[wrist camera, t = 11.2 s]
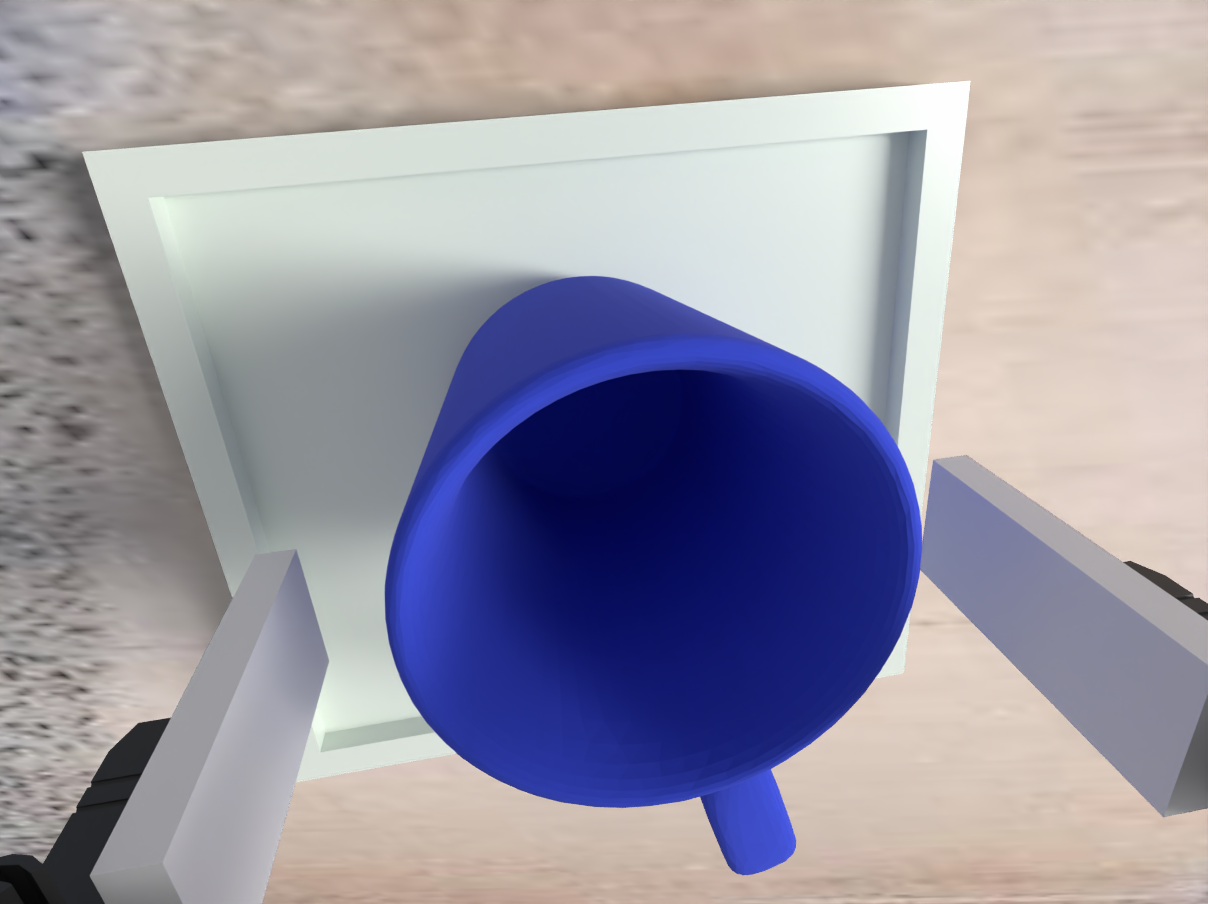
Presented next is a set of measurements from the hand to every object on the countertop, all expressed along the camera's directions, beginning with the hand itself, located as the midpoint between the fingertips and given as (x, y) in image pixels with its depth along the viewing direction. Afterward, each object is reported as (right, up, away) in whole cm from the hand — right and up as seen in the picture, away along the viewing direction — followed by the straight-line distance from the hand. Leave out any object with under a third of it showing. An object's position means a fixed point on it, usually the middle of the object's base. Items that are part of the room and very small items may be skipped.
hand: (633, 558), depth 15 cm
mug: (-1, +2, +6) cm, 6 cm away
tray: (-1, +2, +6) cm, 7 cm away
